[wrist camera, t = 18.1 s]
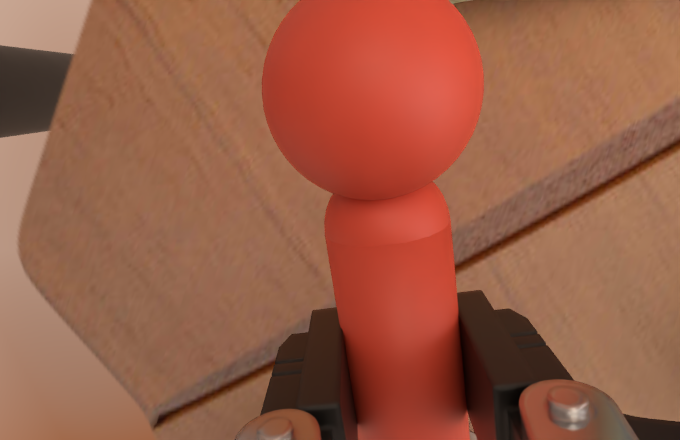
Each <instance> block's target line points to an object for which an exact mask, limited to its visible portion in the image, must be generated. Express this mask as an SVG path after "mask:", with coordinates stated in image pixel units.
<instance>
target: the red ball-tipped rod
mask: <svg viewBox="0 0 680 440" xmlns="http://www.w3.org/2000/svg"><path fill="white" fill-rule="evenodd" d="M483 92H484V75H483V67H482V60H481V56H480V53H479V49H478V45H477V43H476V40H475V38H474V36H473V33H472V31H471V29H470V28H469V26H468V24H467V22H466V21H465V19H464V18H463V16H462V15H461V14H460V13H459V11H458V10H457V9H456V7H455V6H454V5H453V4H452V3H451V2H450V1H449V0H300V1H299V2H298V3H297V4H296V5H295V6H294V7H293V8H292V9H291V10H290V11H289V13H288V14H287V15H286V17H285V18H284V19H283V21H282V22H281V24H280V25H279V27H278V29H277V31H276V32H275V34H274V36H273V39H272V41H271V43H270V46H269V48H268V51H267V55H266V59H265V63H264V69H263V76H262V98H263V107H264V112H265V116H266V120H267V123H268V126H269V129H270V131H271V134H272V136H273V138H274V140H275V142H276V144H277V146H278V147H279V149H280V151H281V152H282V153H283V155H284V156H285V157H286V159H287V160H288V161H289V162H290V164H291V165H292V166H293V167H294V168H295V169H296V170H297V171H298V172H299V173H300V174H302V175H303V176H304V177H305V178H306V179H308V180H309V181H311V182H312V183H314V184H315V185H317V186H319V187H320V188H323V189H325V190H327V191H329V192H331V193H333V195H332V196H331V198H330V200H329V203H328V206H327V209H326V214H325V221H324V224H325V238H326V244H327V250H328V256H329V263H330V269H331V275H332V281H333V287H334V294H335V300H336V306H337V312H338V318H339V324H340V327H341V328H342V330H343V336H344V343H345V349H346V355H347V361H348V368H349V374H350V380H351V386H352V393H353V399H354V405H355V412H356V418H357V424H358V440H470V435H469V423H468V412H467V405H466V394H465V383H464V372H463V360H462V349H461V338H460V326H459V315H458V300H457V288H456V277H455V266H454V255H453V243H452V232H451V221H450V215H449V210H448V207H447V204H446V202H445V199H444V197H443V195H442V193H441V191H440V190H439V189H438V187H437V186H436V184H435V183H434V182H433V180H435V179H436V178H438V177H439V176H440V175H441V174H442V173H443V172H445V171H446V170H447V169H448V168H449V167H450V166H451V165H452V164H453V163H454V162H455V160H456V159H457V158H458V157H459V155H460V154H461V153H462V151H463V150H464V148H465V147H466V145H467V143H468V142H469V140H470V138H471V136H472V134H473V132H474V129H475V127H476V124H477V122H478V118H479V115H480V111H481V107H482V100H483Z"/></svg>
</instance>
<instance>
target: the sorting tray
mask: <svg viewBox="0 0 680 440" xmlns="http://www.w3.org/2000/svg"><path fill="white" fill-rule="evenodd" d="M449 1H450V2H451V3H452V4H454V3H460V2H465V1H471V0H449Z"/></svg>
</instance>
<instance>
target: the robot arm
mask: <svg viewBox="0 0 680 440" xmlns="http://www.w3.org/2000/svg"><path fill="white" fill-rule="evenodd" d="M457 300H458V315H459V326H460V338H461V349H462V360H463V372H464V383H465V394H466V405H467V412H468V415H469V417H470V420H471V423H472V426H473V429H474V432H475V434H476V437H477V440H680V422H675V421H666V420H657V419H648V418H640V417H634V416H630V415H626V414H623V413H622V412H621V410H620V409H619V407H618V406H617V404H616V403H615V402H614V400H613V399H612V398H610V397H609V396H608V395H607V394H605V393H604V392H603V391H601V390H599V389H597V388H595V387H593V386H590V385H588V384H585V383H581V382H577V381H574V380H573V378H572V377H571V376H570V374H569V373H568V372H567V370H566V369H565V368H564V366H563V365H562V364H561V362H560V361H559V360H558V359H557V357H556V356H555V355H554V353H553V352H552V351H551V349H550V348H549V347H548V346H546V343H545V341H544V340H543V339H542V337H541V336H540V335H539V334H537V331H536V329H535V328H534V327H533V325H532V324H531V323H530V322H529V320H528V319H527V318H525V317H524V316H522V315H520V314H518V313H516V312H515V311H513V310H511V309H501V310H494V309H493V308H492V306H491V304H490V303H489V301H488V300H487V298H486V297H485V295H484V293H483V292H482V291H481V290H476V291H468V292H460V293H457ZM234 440H358V424H357V418H356V412H355V405H354V399H353V393H352V386H351V380H350V374H349V368H348V361H347V355H346V349H345V343H344V336H343V330H342V328H341V327H340V324H339V318H338V312H337V307H336V308H328V309H320V310H313V311H312V315H311V321H310V326H309V332H307V333H299V334H291V336H290V337H289V338H288V339H287V340H286V341H285V342H284V343H283V344H282V345H281V346H280V347H279V350H278V353H277V357H276V361H275V365H274V368H273V372H272V377H271V379H270V382H269V386H268V390H267V393H266V397H265V400H264V404H263V408H262V411H261V415H260V416H258V417H256V418H255V419H253V420H252V421H250V422H249V423H248V424H246V425H245V426H244V427H243V428H242V429H241V430H240V431H239V433H238V434H237V436H236V437H235V439H234Z"/></svg>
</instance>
